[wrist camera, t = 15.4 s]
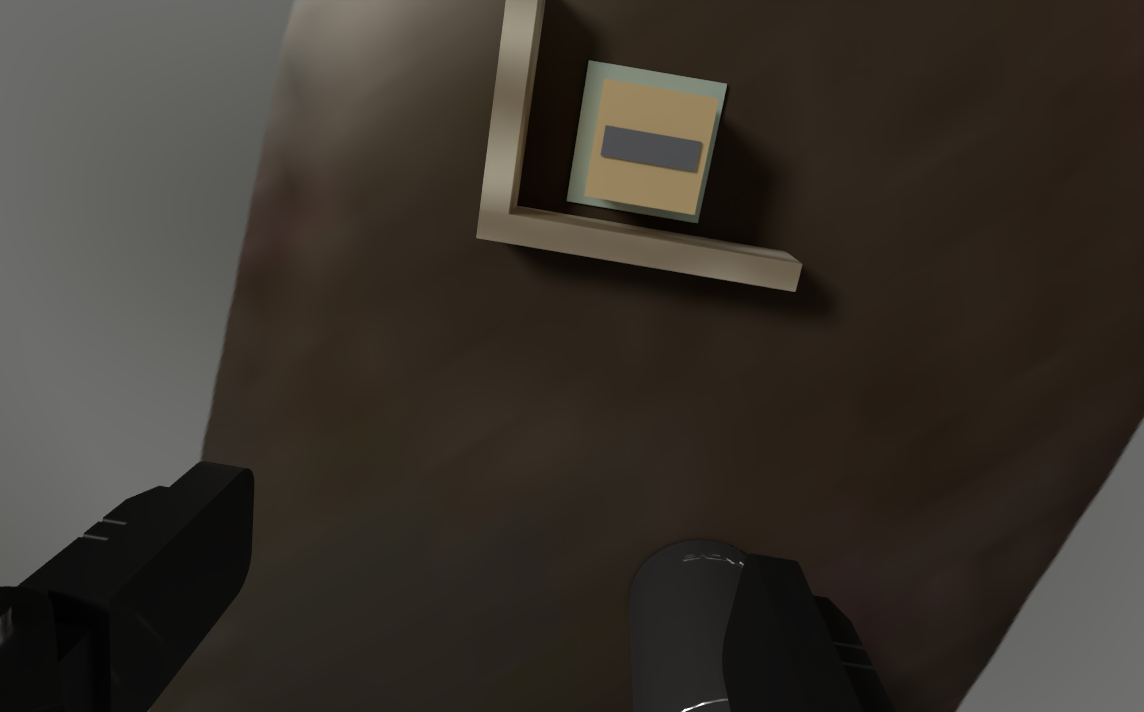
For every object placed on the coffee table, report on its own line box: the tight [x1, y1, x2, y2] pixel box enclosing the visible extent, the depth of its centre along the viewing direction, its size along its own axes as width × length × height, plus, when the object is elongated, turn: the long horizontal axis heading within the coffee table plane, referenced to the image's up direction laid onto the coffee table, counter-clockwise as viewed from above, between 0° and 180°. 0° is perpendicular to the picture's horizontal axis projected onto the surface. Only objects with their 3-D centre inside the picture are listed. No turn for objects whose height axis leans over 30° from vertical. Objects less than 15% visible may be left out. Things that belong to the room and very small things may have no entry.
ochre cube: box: [584, 79, 719, 215], centre depth 39 cm, size 6×6×6 cm
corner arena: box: [476, 0, 802, 292], centre depth 40 cm, size 13×17×4 cm
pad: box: [567, 60, 727, 223], centre depth 42 cm, size 8×8×1 cm
